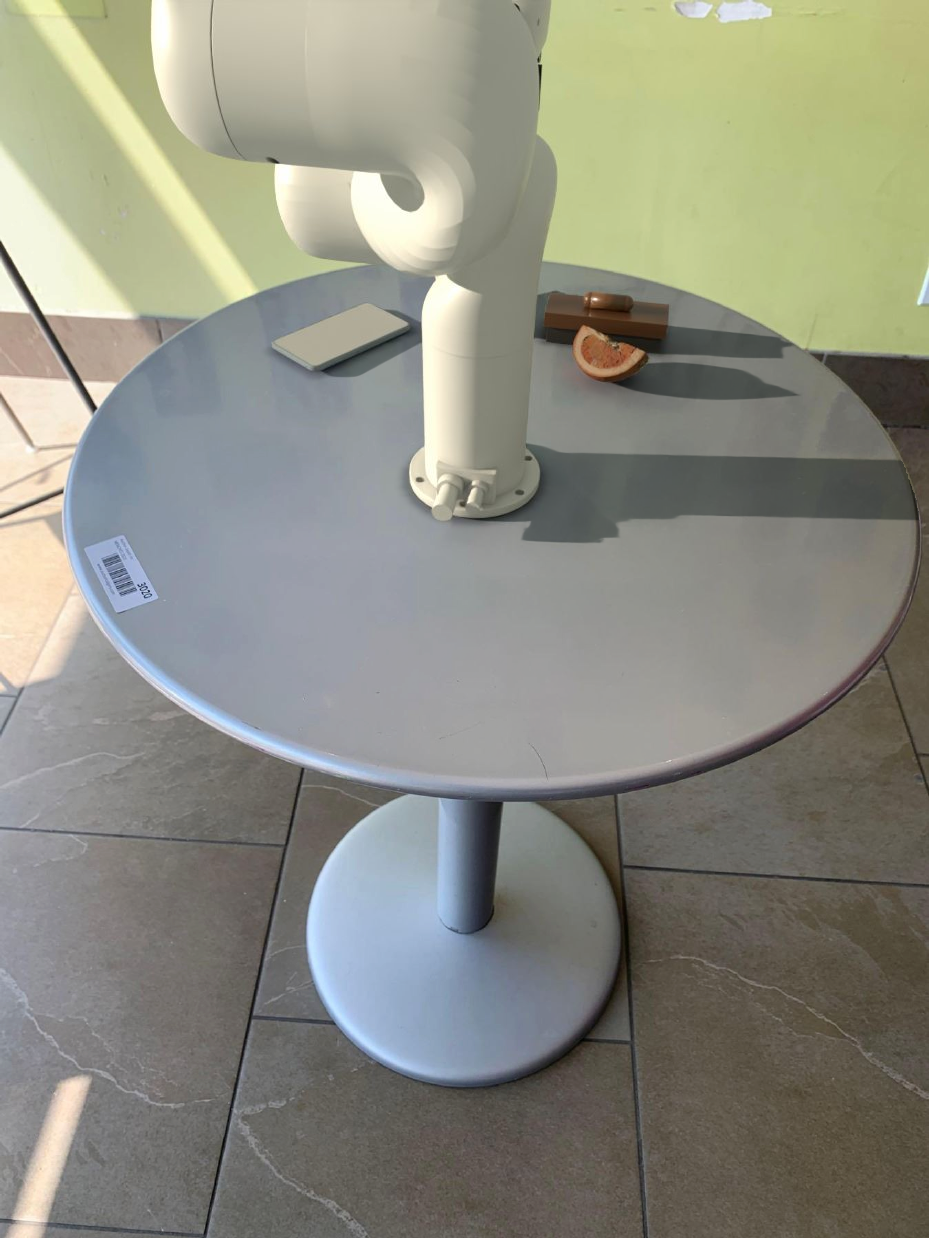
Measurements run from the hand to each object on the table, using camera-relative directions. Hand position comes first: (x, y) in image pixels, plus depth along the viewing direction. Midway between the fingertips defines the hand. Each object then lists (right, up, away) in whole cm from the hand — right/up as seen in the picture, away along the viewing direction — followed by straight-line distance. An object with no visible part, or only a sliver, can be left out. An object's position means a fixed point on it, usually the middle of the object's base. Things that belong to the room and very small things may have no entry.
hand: (513, 131), depth 80 cm
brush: (+12, -10, +27) cm, 31 cm away
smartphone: (-19, -11, +26) cm, 34 cm away
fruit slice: (+12, -17, +21) cm, 29 cm away
